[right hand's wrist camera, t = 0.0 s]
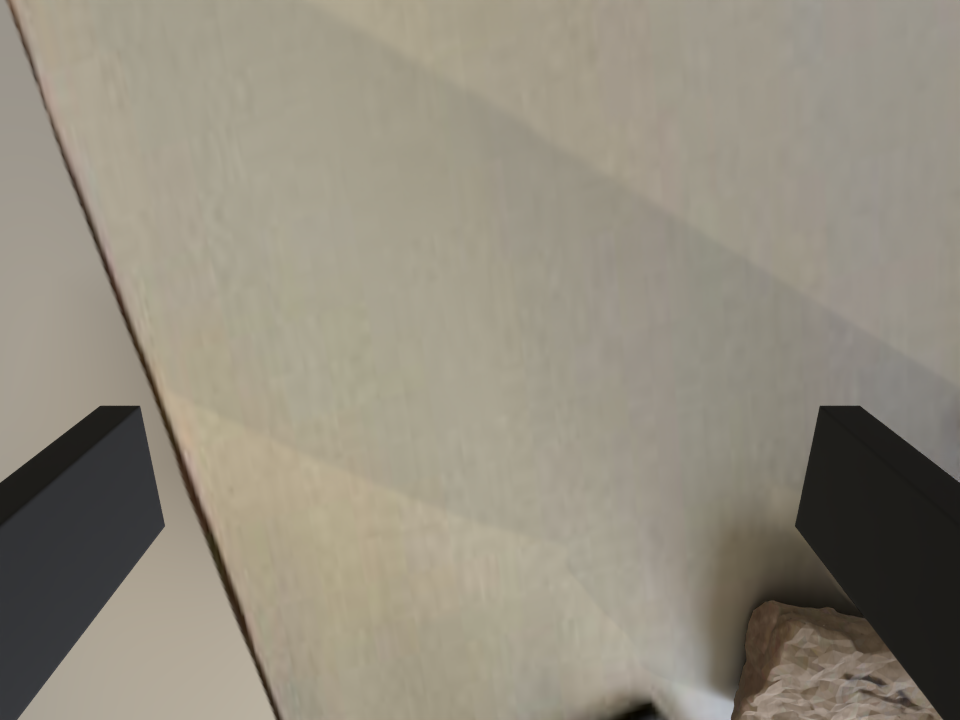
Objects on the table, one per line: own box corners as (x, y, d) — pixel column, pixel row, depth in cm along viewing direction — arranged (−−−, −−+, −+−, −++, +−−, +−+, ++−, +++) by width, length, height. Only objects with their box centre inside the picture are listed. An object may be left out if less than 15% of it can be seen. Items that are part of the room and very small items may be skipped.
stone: (1079, 605, 45) (1136, 689, 40) (982, 716, 53) (1019, 797, 48) (762, 559, 48) (779, 632, 43) (717, 671, 56) (727, 744, 51)
